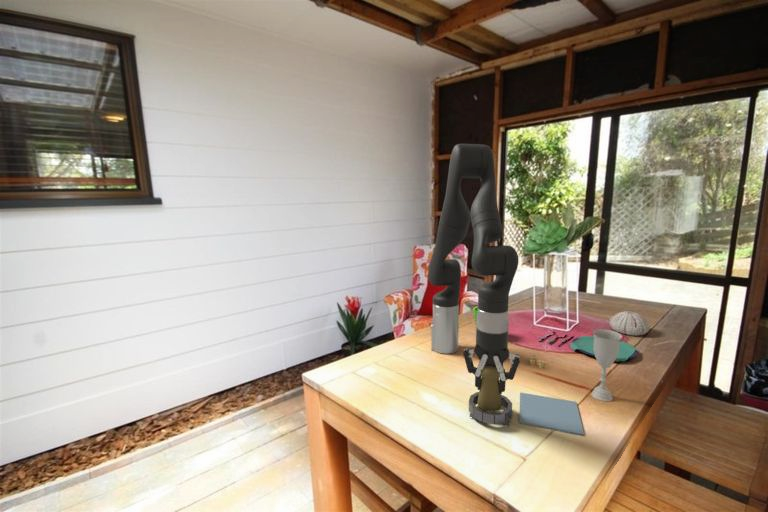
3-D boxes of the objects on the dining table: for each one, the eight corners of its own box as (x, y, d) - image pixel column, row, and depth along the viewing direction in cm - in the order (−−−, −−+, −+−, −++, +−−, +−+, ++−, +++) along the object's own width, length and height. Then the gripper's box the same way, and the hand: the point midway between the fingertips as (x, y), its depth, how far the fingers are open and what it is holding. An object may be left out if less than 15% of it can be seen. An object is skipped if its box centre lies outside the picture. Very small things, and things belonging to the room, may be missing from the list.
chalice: (616, 406, 93) (622, 341, 90) (587, 399, 97) (591, 336, 94) (616, 393, 99) (621, 332, 96) (588, 386, 103) (592, 327, 100)
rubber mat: (519, 423, 87) (519, 421, 87) (520, 393, 100) (520, 392, 100) (583, 435, 82) (584, 434, 82) (576, 403, 95) (576, 401, 95)
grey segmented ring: (466, 422, 88) (466, 409, 87) (472, 400, 98) (472, 388, 97) (510, 431, 84) (511, 418, 84) (512, 407, 94) (512, 395, 93)
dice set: (542, 370, 114) (542, 364, 114) (526, 365, 118) (526, 360, 118) (547, 364, 118) (548, 359, 118) (532, 360, 122) (532, 355, 121)
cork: (503, 412, 87) (505, 371, 85) (477, 410, 89) (479, 369, 87) (500, 398, 93) (502, 359, 91) (476, 396, 94) (477, 357, 92)
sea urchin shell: (654, 332, 142) (656, 313, 140) (640, 340, 134) (642, 320, 133) (618, 323, 153) (619, 305, 151) (602, 330, 145) (604, 311, 144)
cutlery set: (627, 370, 112) (628, 363, 112) (534, 344, 135) (534, 338, 134) (643, 351, 126) (644, 345, 125) (556, 330, 148) (556, 325, 147)
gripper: (460, 328, 86) (459, 392, 89) (523, 335, 81) (519, 404, 84) (465, 318, 93) (463, 378, 96) (523, 324, 88) (520, 387, 91)
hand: (490, 390), depth 90 cm, fingers closed on cork, 4 cm apart
